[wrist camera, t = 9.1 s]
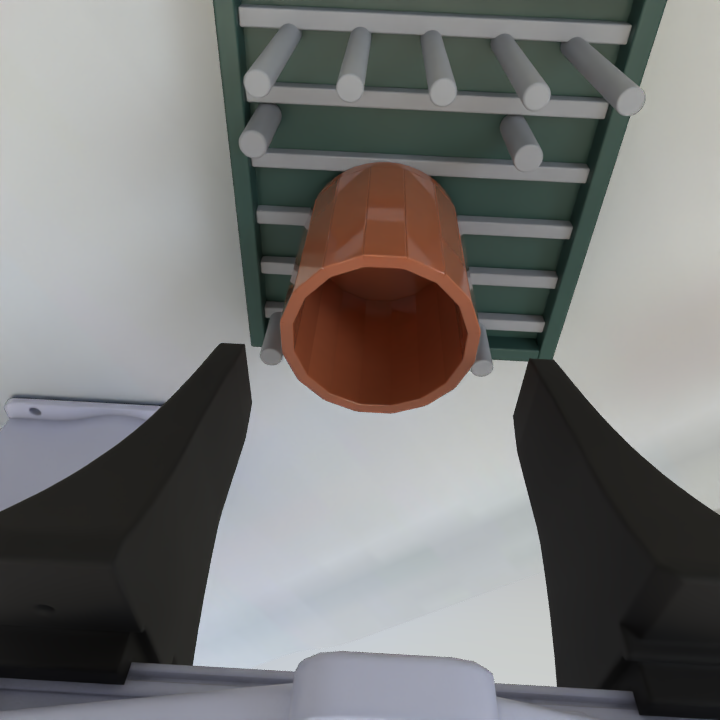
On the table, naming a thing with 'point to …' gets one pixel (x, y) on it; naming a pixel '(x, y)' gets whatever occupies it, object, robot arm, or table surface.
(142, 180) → the table surface
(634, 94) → the rack
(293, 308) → the cup
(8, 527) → the robot arm
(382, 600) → the table surface
